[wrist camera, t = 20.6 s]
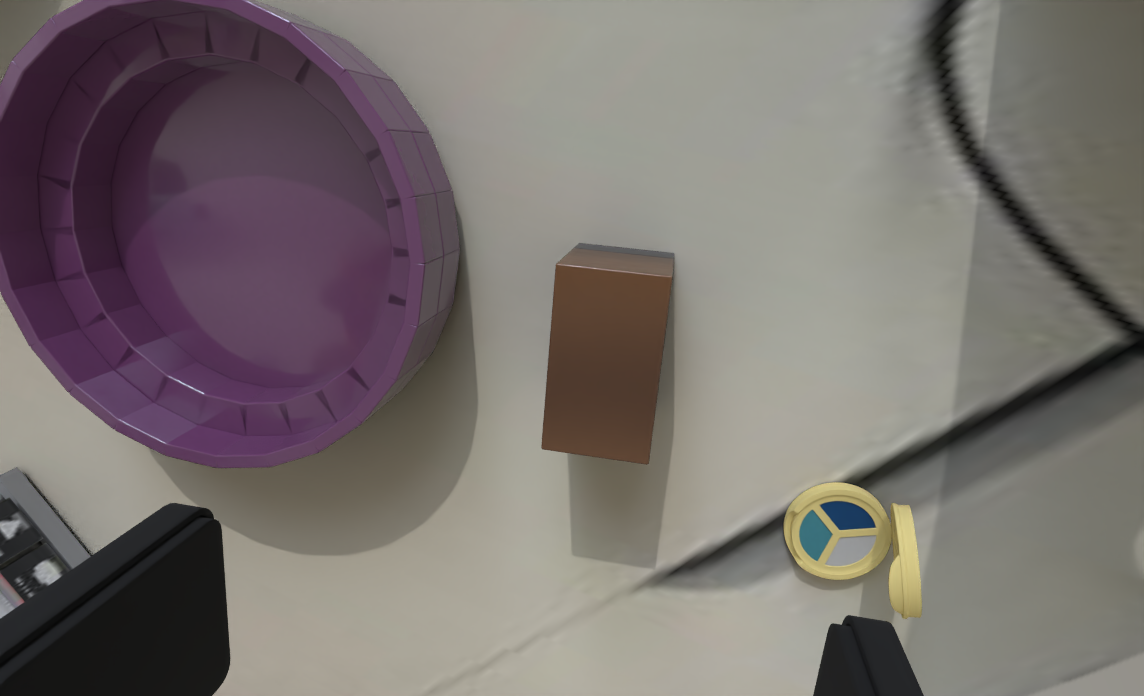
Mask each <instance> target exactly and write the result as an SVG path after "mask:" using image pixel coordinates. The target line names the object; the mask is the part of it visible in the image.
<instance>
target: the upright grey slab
mask: <svg viewBox="0 0 1144 696" xmlns="http://www.w3.org/2000/svg"><path fill="white" fill-rule="evenodd" d="M89 557H91V556H90V555H89V554H88V553H87V551H86V550H85V549H84V548H83V547H82V545H81V544H80V543H79V542H78V541H77V539H76V538H75V537H74V536H73V534H72V533H71V532H70V531H69V530H68V528H67V527H66V526H65V525H64V524H63V522H62V521H61V520H60V519H59V517H58V516H57V515H56V514H55V513H54V511H53V510H52V509H51V508H50V507H49V505H48V504H47V503H46V502H45V500H44V499H43V498H42V497H41V496H40V494H39V493H38V492H37V491H36V489H35V488H34V487H33V486H32V485H31V483H30V482H29V481H28V479H27V477H26V475H25V474H23V473H22V472H21V471H20V470H19V469H18V468H17V467H16V468H14V469H12V470H10V471H8V472H6V473H4V474H2V475H0V618H2V617H3V616H5V615H6V614H8V613H9V612H11V611H12V610H13V609H15V608H16V607H18V606H19V605H21V604H22V603H24V602H25V601H27V600H28V599H30V598H31V597H32V596H34V595H35V594H37V593H38V592H40V591H41V590H43V589H44V588H46V587H47V586H49V585H50V584H51V583H53V582H54V581H56V580H57V579H59V578H60V577H62V576H63V575H65V574H66V573H68V572H69V571H70V570H72V569H73V568H75V567H76V566H78V565H79V564H81V563H82V562H84V561H85V560H86V559H88V558H89Z"/></svg>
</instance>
